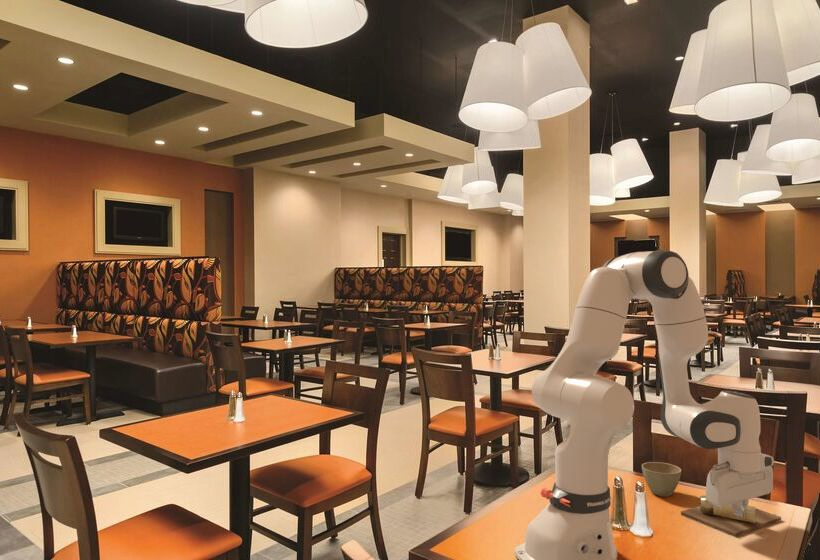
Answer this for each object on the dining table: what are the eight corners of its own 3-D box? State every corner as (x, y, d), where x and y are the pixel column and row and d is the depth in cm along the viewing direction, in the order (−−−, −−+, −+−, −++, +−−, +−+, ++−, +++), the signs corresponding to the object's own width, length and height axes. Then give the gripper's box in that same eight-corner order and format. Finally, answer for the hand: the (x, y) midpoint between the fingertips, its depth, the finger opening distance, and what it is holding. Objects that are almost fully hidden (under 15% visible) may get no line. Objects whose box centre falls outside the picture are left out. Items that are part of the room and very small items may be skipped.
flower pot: (677, 503, 146) (676, 476, 146) (638, 494, 152) (637, 469, 152) (685, 491, 154) (684, 465, 154) (647, 484, 160) (646, 459, 160)
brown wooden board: (735, 536, 126) (735, 533, 126) (680, 514, 139) (680, 511, 139) (781, 520, 134) (781, 517, 134) (725, 500, 147) (725, 497, 147)
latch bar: (699, 512, 137) (698, 499, 137) (701, 507, 140) (701, 494, 140) (754, 524, 130) (754, 510, 130) (756, 518, 133) (755, 505, 133)
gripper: (723, 470, 124) (724, 531, 124) (778, 457, 133) (778, 514, 133) (698, 462, 130) (698, 520, 130) (752, 450, 139) (752, 505, 139)
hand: (739, 517), depth 131 cm, fingers closed, pressing on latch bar
